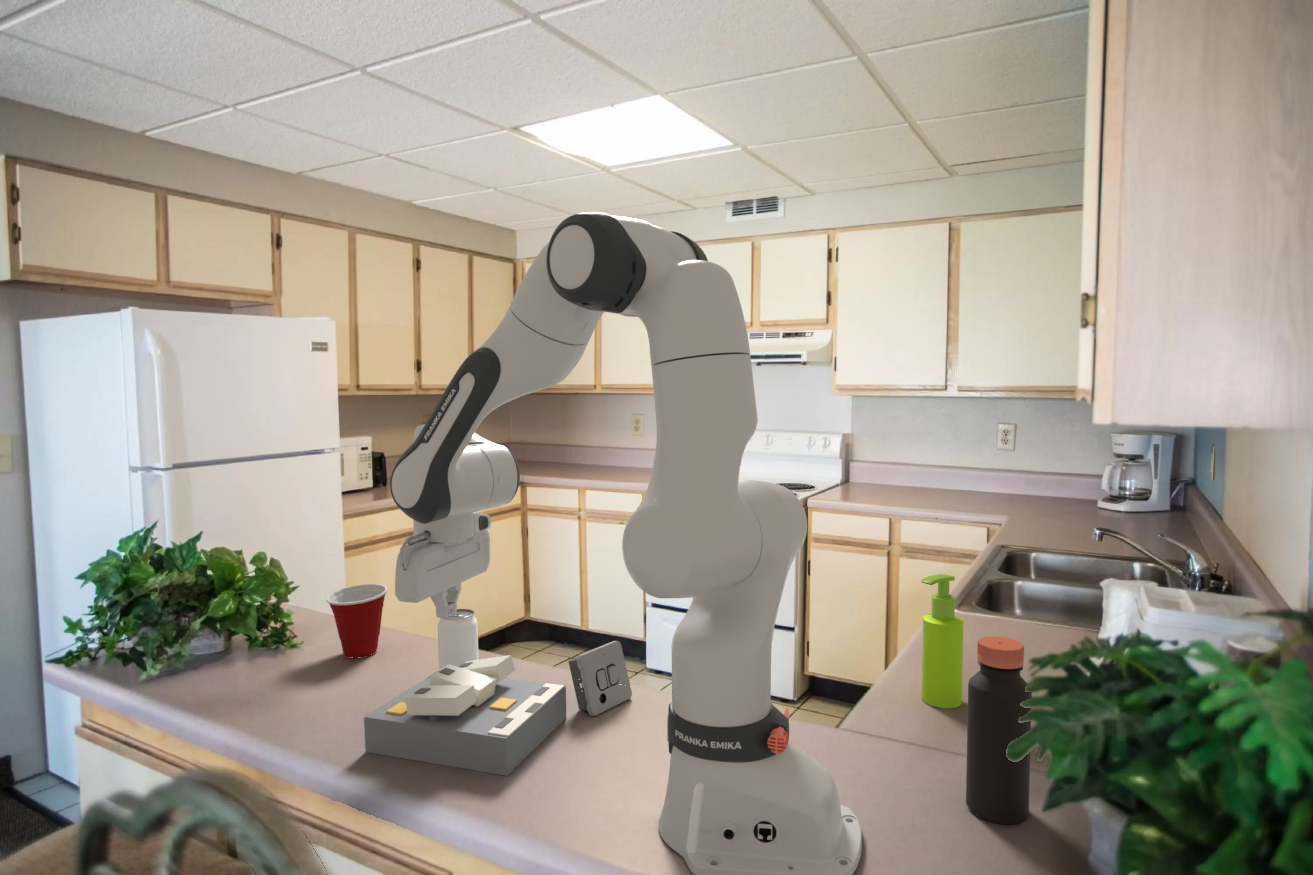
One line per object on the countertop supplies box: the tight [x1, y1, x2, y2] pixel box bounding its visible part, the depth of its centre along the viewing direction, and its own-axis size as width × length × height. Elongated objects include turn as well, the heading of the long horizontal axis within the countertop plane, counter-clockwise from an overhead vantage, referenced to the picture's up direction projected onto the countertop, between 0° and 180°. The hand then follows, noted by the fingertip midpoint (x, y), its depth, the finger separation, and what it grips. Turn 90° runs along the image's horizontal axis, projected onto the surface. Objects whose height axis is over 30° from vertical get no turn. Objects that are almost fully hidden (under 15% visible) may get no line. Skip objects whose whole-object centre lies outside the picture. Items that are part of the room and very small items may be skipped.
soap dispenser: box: [920, 573, 964, 710], centre depth 121 cm, size 6×7×20 cm
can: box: [437, 608, 479, 671], centre depth 130 cm, size 6×6×12 cm
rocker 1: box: [405, 685, 476, 715], centre depth 106 cm, size 8×4×3 cm, turn 72°
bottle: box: [965, 636, 1033, 825], centre depth 90 cm, size 7×7×20 cm
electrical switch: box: [568, 640, 633, 717], centre depth 122 cm, size 9×5×9 cm, turn 141°
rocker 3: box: [459, 654, 516, 682], centre depth 117 cm, size 8×4×2 cm, turn 72°
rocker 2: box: [430, 664, 496, 706], centre depth 112 cm, size 8×4×2 cm, turn 72°
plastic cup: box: [325, 583, 388, 659], centre depth 145 cm, size 11×11×12 cm
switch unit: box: [363, 671, 567, 777], centre depth 112 cm, size 22×18×6 cm
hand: (446, 615), depth 118 cm, fingers closed
